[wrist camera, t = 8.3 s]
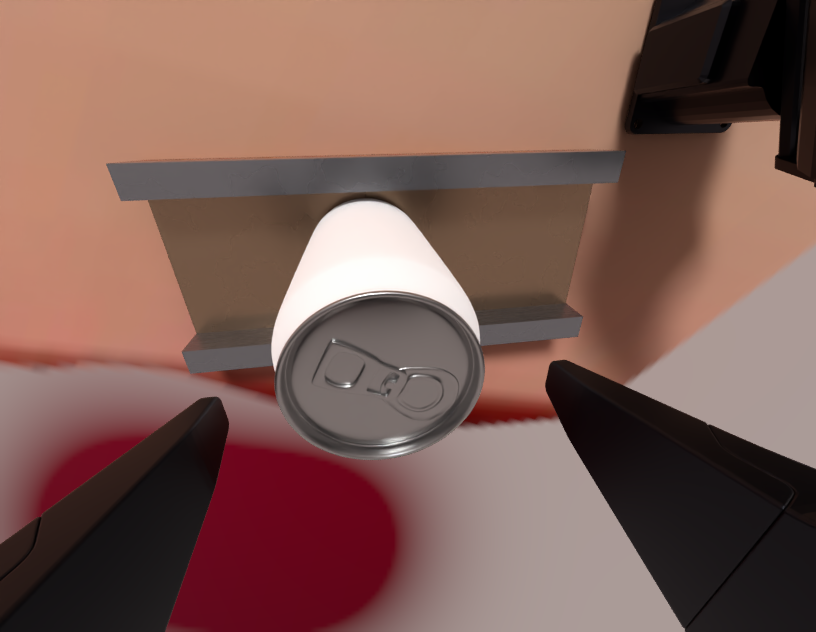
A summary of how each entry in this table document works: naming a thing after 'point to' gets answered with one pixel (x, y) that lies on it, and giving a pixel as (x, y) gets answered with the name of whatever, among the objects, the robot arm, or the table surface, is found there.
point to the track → (383, 180)
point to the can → (375, 338)
